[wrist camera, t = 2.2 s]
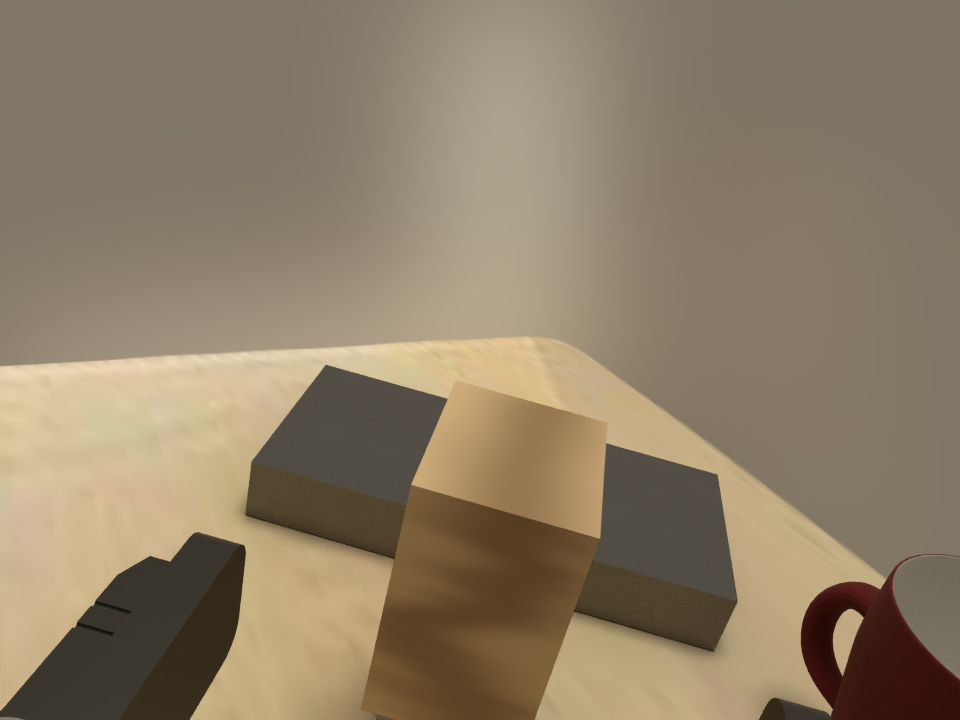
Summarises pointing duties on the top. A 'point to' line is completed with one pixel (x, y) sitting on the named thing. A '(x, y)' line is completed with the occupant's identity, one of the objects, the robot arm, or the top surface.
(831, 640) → the mug
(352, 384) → the dark grey slab
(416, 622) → the tan wooden tall block
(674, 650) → the top surface
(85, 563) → the top surface
